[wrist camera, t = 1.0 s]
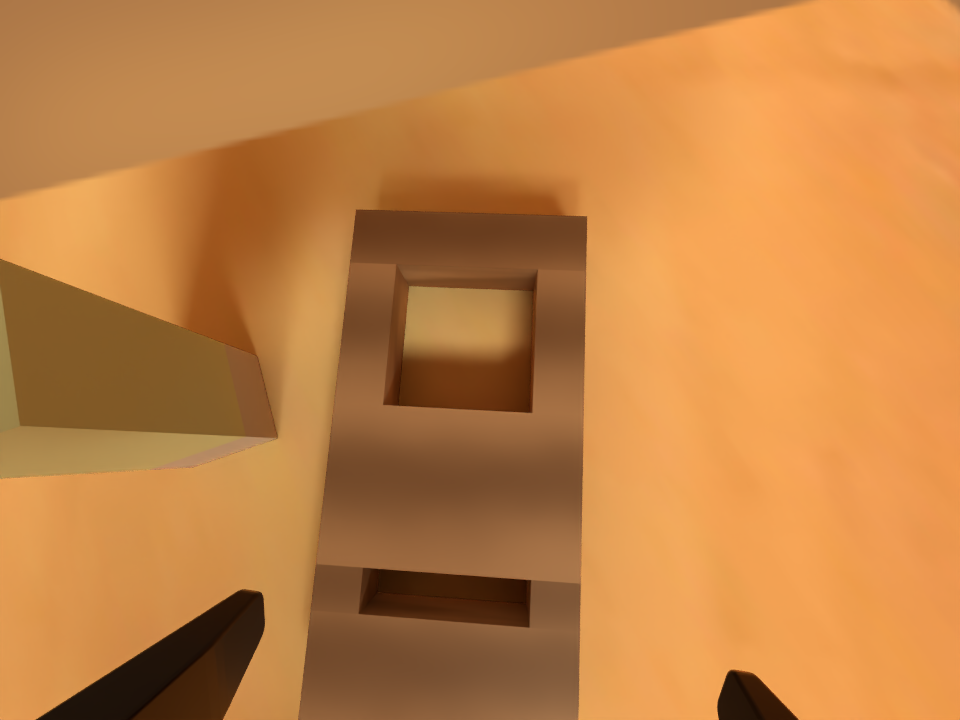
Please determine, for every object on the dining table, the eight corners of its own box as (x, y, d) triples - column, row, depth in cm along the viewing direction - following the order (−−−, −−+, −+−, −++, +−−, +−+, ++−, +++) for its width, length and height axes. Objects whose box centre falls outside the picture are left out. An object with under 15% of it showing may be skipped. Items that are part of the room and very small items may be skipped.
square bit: (277, 438, 24) (20, 425, 11) (192, 467, 24) (-164, 487, 11) (257, 355, 25) (-4, 257, 12) (175, 383, 25) (-175, 314, 12)
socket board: (567, 706, 21) (577, 747, 18) (326, 684, 22) (298, 721, 19) (577, 243, 25) (587, 216, 22) (372, 237, 26) (356, 209, 23)
